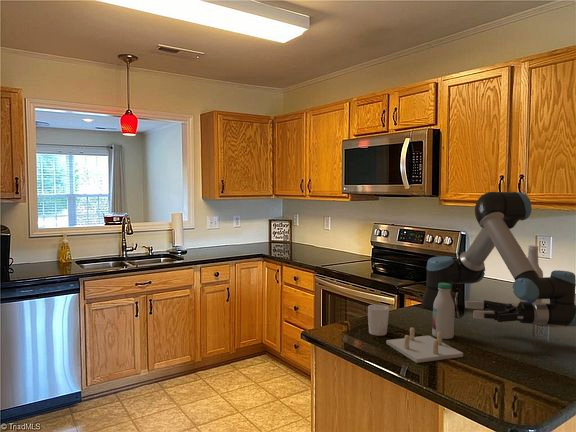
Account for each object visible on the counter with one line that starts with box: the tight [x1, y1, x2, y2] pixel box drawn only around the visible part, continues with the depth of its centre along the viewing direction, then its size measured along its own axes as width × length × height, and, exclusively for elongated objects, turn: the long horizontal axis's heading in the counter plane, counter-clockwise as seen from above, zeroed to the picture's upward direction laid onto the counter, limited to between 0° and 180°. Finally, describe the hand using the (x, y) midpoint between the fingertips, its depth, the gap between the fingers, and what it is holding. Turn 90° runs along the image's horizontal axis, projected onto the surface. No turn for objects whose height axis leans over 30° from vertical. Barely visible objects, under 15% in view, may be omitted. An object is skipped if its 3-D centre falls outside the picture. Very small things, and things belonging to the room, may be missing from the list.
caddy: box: [385, 327, 464, 364], centre depth 147 cm, size 18×18×6 cm
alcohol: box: [519, 244, 544, 303], centre depth 200 cm, size 9×9×30 cm
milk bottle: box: [431, 283, 456, 340], centre depth 162 cm, size 8×8×20 cm
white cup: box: [367, 304, 390, 337], centre depth 164 cm, size 8×8×10 cm
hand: (469, 309), depth 160 cm, fingers open, 13 cm apart
